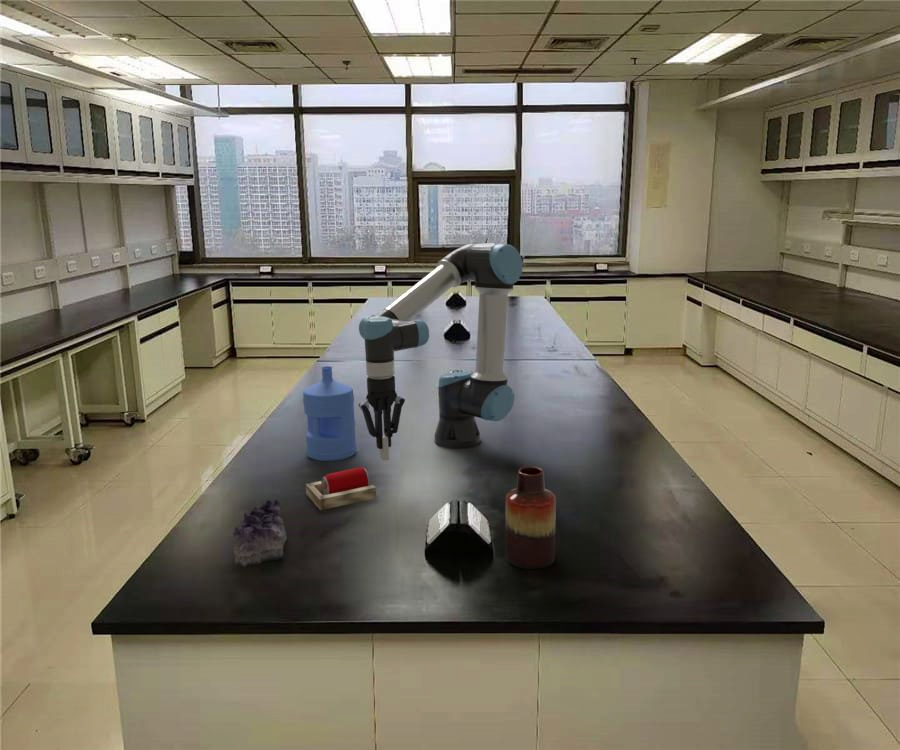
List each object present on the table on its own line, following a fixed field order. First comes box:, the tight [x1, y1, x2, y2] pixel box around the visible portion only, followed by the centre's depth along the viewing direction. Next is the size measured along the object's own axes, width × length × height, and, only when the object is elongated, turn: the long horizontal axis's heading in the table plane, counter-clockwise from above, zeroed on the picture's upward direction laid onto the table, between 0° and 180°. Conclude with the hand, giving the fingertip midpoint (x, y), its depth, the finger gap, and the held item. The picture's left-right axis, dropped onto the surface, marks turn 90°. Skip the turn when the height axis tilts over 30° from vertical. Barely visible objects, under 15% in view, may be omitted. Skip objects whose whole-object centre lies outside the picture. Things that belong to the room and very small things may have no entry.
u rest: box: [305, 480, 377, 511], centre depth 190 cm, size 16×12×3 cm
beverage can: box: [320, 466, 370, 495], centre depth 191 cm, size 6×6×12 cm
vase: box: [505, 466, 557, 570], centre depth 153 cm, size 11×11×20 cm
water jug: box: [302, 365, 357, 462], centre depth 221 cm, size 16×16×28 cm
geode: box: [232, 499, 288, 568], centre depth 161 cm, size 20×12×10 cm, turn 7°
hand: (384, 458), depth 195 cm, fingers closed
